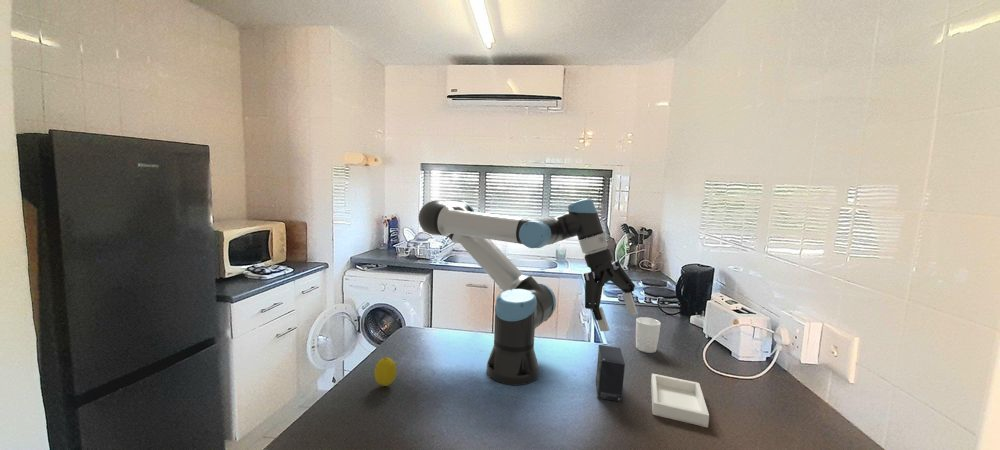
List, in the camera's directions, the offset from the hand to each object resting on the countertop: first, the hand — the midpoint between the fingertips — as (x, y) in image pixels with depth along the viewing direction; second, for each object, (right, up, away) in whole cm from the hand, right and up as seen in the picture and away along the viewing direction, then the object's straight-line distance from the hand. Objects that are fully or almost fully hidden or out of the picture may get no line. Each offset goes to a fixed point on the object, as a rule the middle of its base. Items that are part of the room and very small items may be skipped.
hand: (619, 322), depth 106 cm
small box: (-5, -17, -5) cm, 19 cm away
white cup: (+17, -16, +23) cm, 33 cm away
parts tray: (+12, -18, -10) cm, 24 cm away
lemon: (-65, -15, -8) cm, 67 cm away
